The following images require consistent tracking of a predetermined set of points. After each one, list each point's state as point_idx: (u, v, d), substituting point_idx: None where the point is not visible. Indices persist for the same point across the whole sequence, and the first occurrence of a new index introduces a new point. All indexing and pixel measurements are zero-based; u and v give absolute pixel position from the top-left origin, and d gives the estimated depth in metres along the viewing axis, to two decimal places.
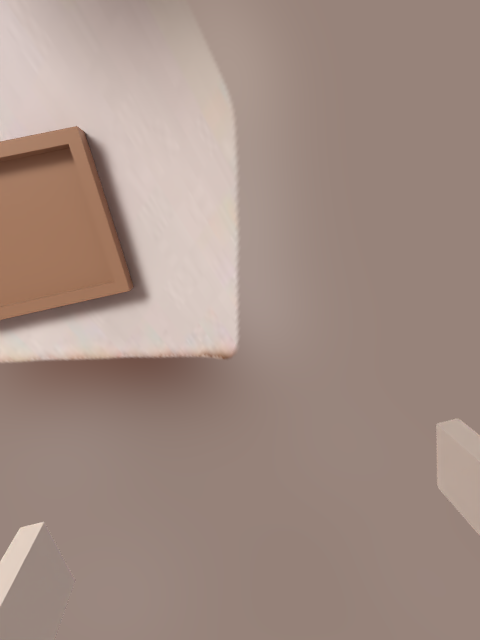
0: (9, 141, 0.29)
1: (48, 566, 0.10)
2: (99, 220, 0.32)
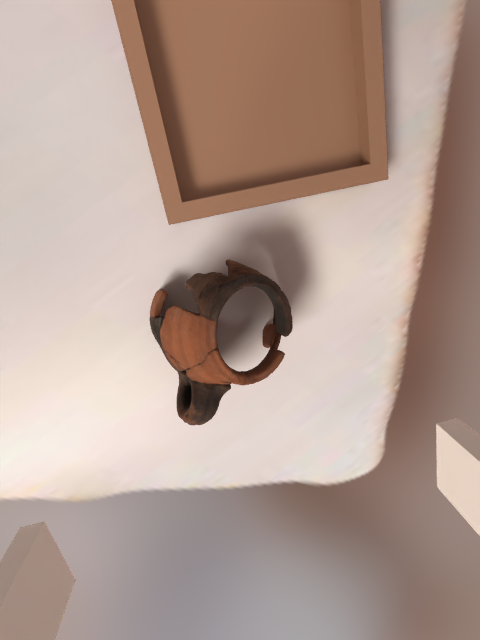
0: (118, 18, 0.18)
1: (48, 566, 0.10)
2: None
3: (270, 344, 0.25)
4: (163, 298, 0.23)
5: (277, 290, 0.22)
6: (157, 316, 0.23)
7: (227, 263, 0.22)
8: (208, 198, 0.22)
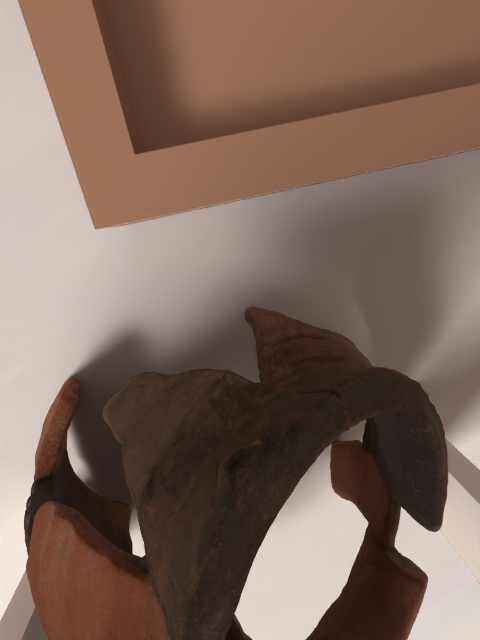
0: None
1: None
2: None
3: (361, 506, 0.10)
4: (63, 420, 0.08)
5: (425, 408, 0.06)
6: (43, 479, 0.08)
7: (251, 320, 0.07)
8: (222, 141, 0.07)
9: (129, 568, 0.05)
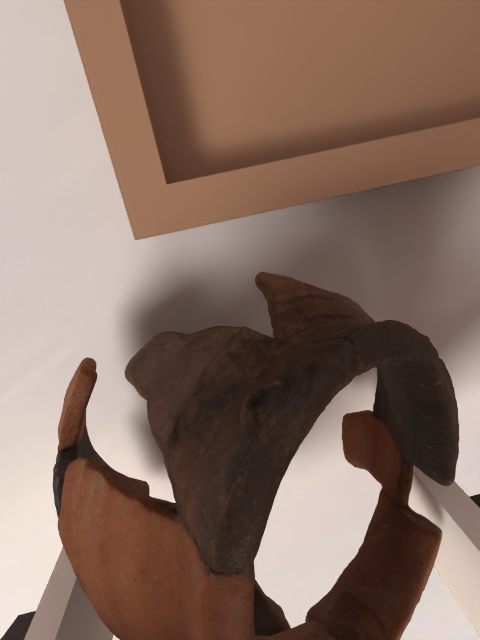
0: None
1: None
2: None
3: (374, 472, 0.10)
4: (84, 393, 0.08)
5: (434, 362, 0.07)
6: (68, 449, 0.08)
7: (262, 284, 0.07)
8: (232, 174, 0.09)
9: (159, 509, 0.05)
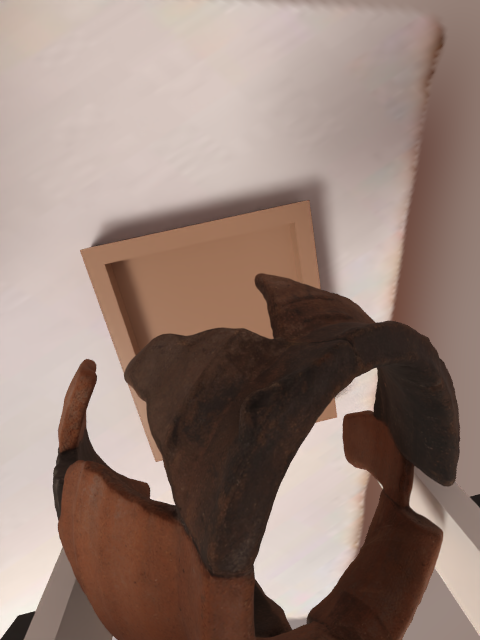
0: (112, 335, 0.23)
1: None
2: (204, 234, 0.22)
3: (375, 472, 0.10)
4: (83, 395, 0.08)
5: (434, 362, 0.07)
6: (68, 451, 0.08)
7: (261, 285, 0.07)
8: None
9: (158, 512, 0.05)
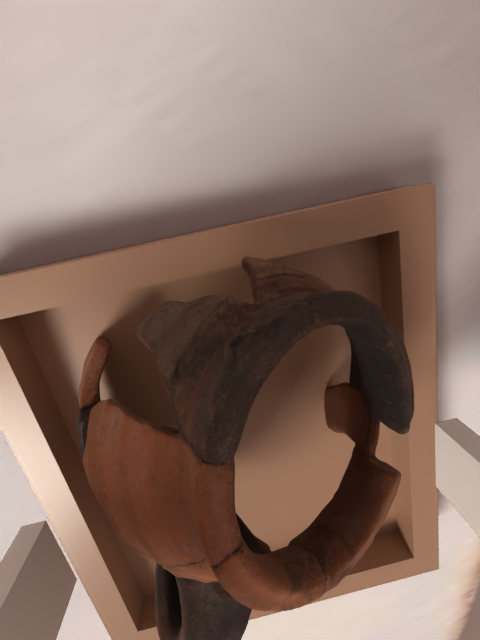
0: (20, 457, 0.11)
1: (49, 565, 0.10)
2: (207, 256, 0.10)
3: (349, 433, 0.12)
4: (100, 360, 0.10)
5: (386, 327, 0.08)
6: (87, 406, 0.10)
7: (246, 266, 0.09)
8: None
9: (164, 430, 0.07)
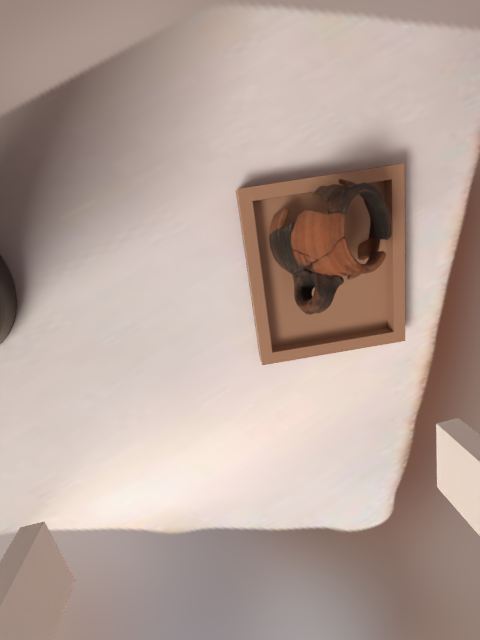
0: (248, 256, 0.31)
1: (48, 566, 0.10)
2: (326, 183, 0.30)
3: (368, 254, 0.31)
4: (286, 214, 0.29)
5: (382, 199, 0.28)
6: (283, 227, 0.29)
7: (340, 181, 0.28)
8: (288, 350, 0.34)
9: (325, 213, 0.26)
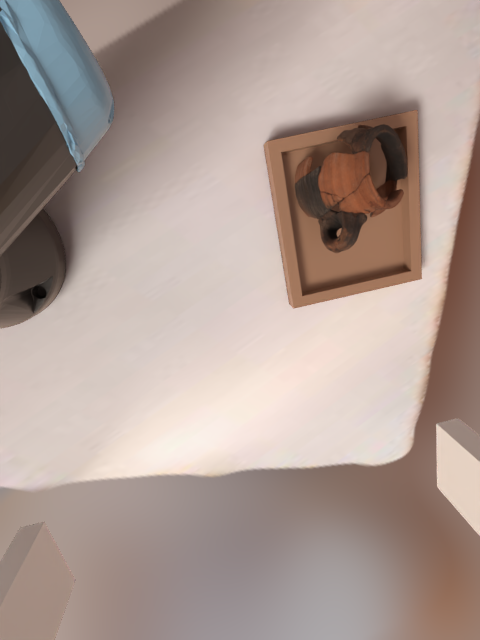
0: (278, 205, 0.34)
1: (48, 566, 0.10)
2: None
3: (386, 195, 0.34)
4: (311, 161, 0.32)
5: (399, 140, 0.31)
6: (309, 173, 0.32)
7: (360, 126, 0.31)
8: (317, 293, 0.37)
9: None
